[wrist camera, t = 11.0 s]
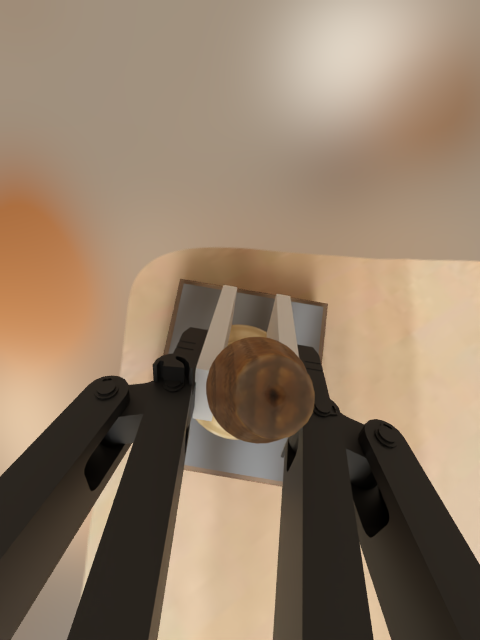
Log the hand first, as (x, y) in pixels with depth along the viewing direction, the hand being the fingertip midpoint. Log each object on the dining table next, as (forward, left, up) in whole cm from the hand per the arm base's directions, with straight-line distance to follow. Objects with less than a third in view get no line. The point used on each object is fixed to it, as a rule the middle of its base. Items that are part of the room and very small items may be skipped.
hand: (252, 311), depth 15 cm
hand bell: (0, +4, -6) cm, 7 cm away
